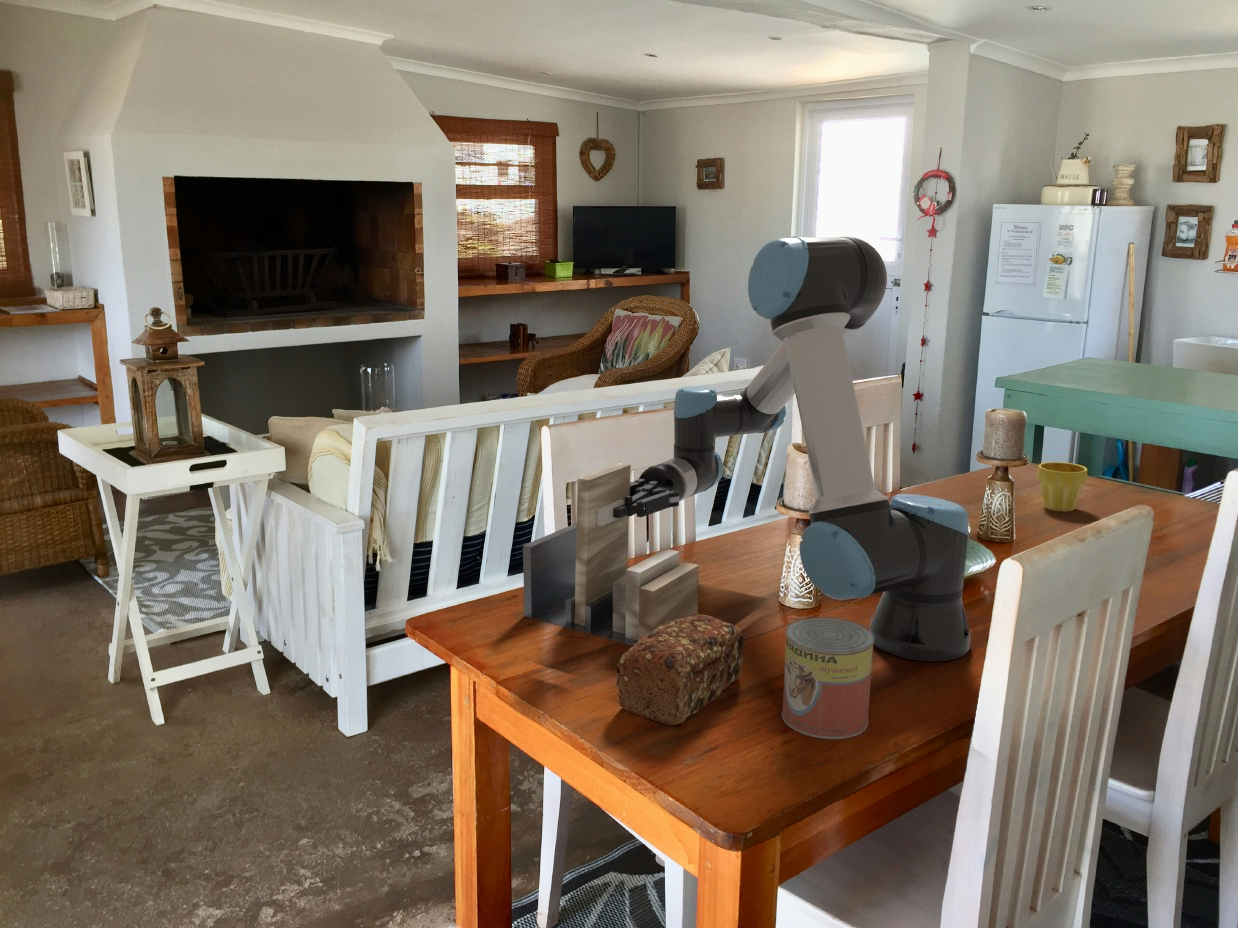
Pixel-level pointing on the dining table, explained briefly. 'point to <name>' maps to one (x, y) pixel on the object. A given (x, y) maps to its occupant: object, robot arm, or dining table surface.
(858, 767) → the dining table surface
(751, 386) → the robot arm
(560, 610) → the metal rack
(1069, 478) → the plant pot
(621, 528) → the plywood sheet
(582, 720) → the dining table surface
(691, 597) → the offcut stack
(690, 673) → the bread
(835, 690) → the canned food
